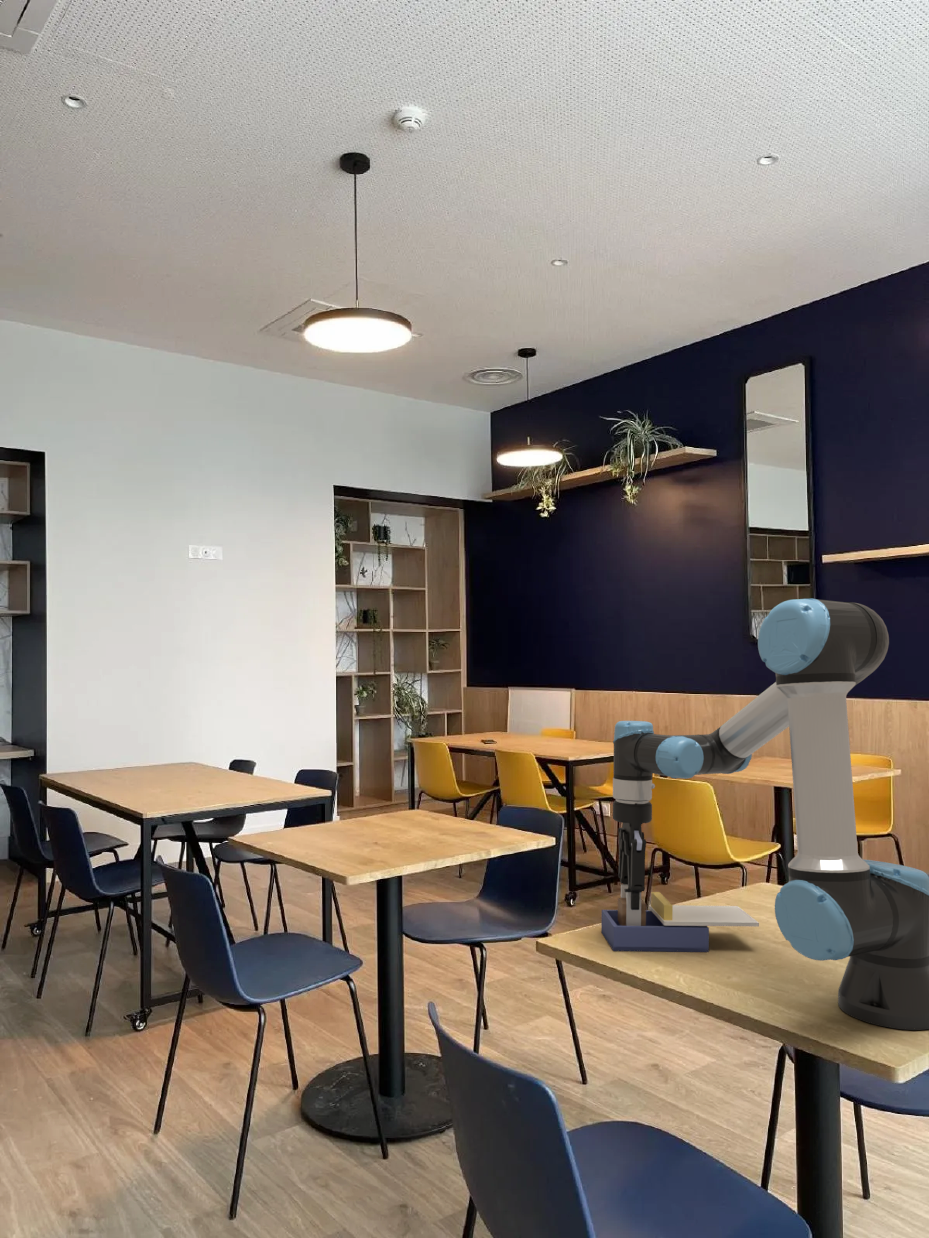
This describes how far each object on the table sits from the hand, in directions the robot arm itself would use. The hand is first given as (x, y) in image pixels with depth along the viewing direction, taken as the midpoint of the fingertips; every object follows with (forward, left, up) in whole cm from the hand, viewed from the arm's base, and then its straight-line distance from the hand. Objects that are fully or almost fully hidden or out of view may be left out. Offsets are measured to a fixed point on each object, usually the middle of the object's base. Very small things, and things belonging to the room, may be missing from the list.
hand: (630, 921), depth 181 cm
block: (0, 0, 0) cm, 1 cm away
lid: (0, -14, +1) cm, 14 cm away
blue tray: (0, -5, -4) cm, 6 cm away
